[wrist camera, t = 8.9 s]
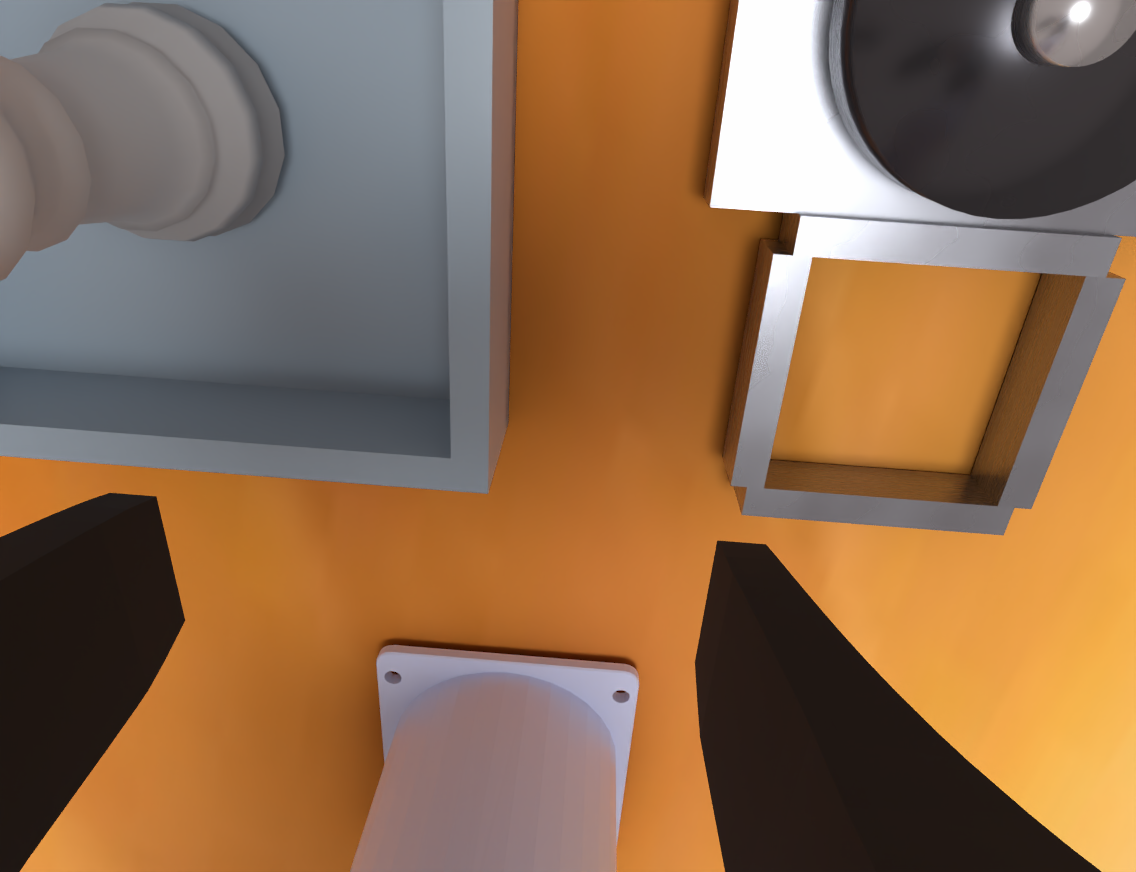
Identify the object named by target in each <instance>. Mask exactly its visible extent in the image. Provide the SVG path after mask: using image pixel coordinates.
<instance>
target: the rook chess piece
mask: <svg viewBox="0 0 1136 872" xmlns="http://www.w3.org/2000/svg"><path fill="white" fill-rule="evenodd" d="M284 156H285V154H284V145H283V137H282V129H281V120H280V112H279V108H278V106H277V104H276V102H275V100H274V98H273V96H272V94H271V92H270V89H269V87H268V85H267V83H266V81H265V79H264V77H263V75H262V73H261V71H260V69H259V67H258V65H257V63H256V62H255V61H254V60H253V59H252V58H251V57H250V56H249V55H248V54H247V53H246V52H245V51H244V50H243V49H242V48H241V47H240V46H239V45H238V44H237V42H236V41H235V40H234V39H233V38H232V37H231V36H230V35H229V34H228V33H227V32H226V31H225V30H224V29H223V28H222V27H221V26H219V25H217V24H215V23H213V22H211V21H209V20H207V19H205V18H203V17H201V16H199V15H197V14H195V13H193V12H191V11H189V10H187V9H185V8H183V7H181V6H179V5H177V4H161V3H142V2H131V3H129V4H117V3H104V4H102V5H100V6H98V7H96V8H94V9H92V10H90V11H88V12H86V13H84V14H82V15H80V16H77V17H75V18H73V19H71V20H69V21H67V22H65V23H63V24H61V25H59V26H58V27H57V29H56V30H55V32H54V33H53V35H52V36H51V38H50V39H49V41H47V42H45V43H44V45H43V46H42V48H41V49H40V51H39V52H38V53H37V54H33V55H28V56H24V57H19V58H14V59H10V60H9V59H7V58H5V57H3V56H1V55H0V281H1V280H4V279H6V278H7V277H8V275H9V274H10V273H11V271H12V270H13V268H14V267H15V266H16V264H17V263H18V262H19V260H20V259H21V258H22V256H23V255H24V253H25V252H26V251H35V252H38V251H41V250H43V249H46V248H48V247H51V246H53V245H56V244H58V243H60V242H63V241H65V240H67V239H68V238H69V237H70V235H71V234H72V233H73V231H74V230H75V229H76V227H77V226H78V225H80V224H92V223H103V222H107V223H109V224H111V225H113V226H116V227H118V228H120V229H124V230H127V231H129V232H131V233H133V234H136V235H138V236H140V237H142V238H148V239H160V240H176V241H192V242H194V241H197V240H199V239H202V238H205V237H207V236H217V235H220V234H222V233H225V232H227V231H230V230H233V229H235V228H238V227H240V226H243V225H245V224H248V223H250V222H251V221H252V220H253V218H254V217H255V216H256V215H257V214H258V213H259V212H260V210H261V209H262V208H263V207H264V206H265V205H266V203H267V202H268V201H269V200H270V199H271V198H272V197H273V195H274V193H275V189H276V186H277V182H278V178H279V175H280V171H281V167H282V164H283V160H284Z"/></svg>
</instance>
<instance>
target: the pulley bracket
mask: <svg viewBox="0 0 1136 872" xmlns="http://www.w3.org/2000/svg"><path fill="white" fill-rule="evenodd" d="M703 198H704V199H705V201H706V202H707V204H708V205H709V207H714V208H728V209H743V210H757V211H772V212H784V213H783V218H782V223H781V229H780V234H779V239H778V240H773V239H760V245H759V251H758V256H757V262H756V268H755V273H754V279H753V285H752V290H751V296H750V302H749V308H748V313H747V319H746V325H745V330H744V336H743V342H742V347H741V353H740V359H739V364H738V370H737V376H736V381H735V387H734V393H733V399H732V404H731V410H730V416H729V421H728V427H727V433H726V438H725V444H724V450H723V455H722V457H723V460H724V464H725V467H726V471H727V475H728V478H729V482H730V485H731V486H734V490H735V493H736V497H737V500H738V504H739V507H740V511H741V514H742V515H749V516H762V517H775V518H788V519H801V520H814V521H827V522H840V523H852V524H865V525H878V526H891V527H904V528H917V529H930V530H942V531H955V532H968V533H981V534H994V535H1004V533H1005V530H1006V528H1007V525H1008V523H1009V520H1010V518H1011V515H1012V512H1013V510H1014V508H1025V509H1031V508H1032V506H1033V504H1034V501H1035V499H1036V496H1037V494H1038V491H1039V489H1040V486H1041V484H1042V482H1043V479H1044V477H1045V474H1046V472H1047V469H1048V467H1049V465H1050V462H1051V460H1052V457H1053V455H1054V452H1055V450H1056V448H1057V445H1058V443H1059V440H1060V438H1061V435H1062V433H1063V430H1064V428H1065V426H1066V423H1067V421H1068V418H1069V416H1070V413H1071V411H1072V409H1073V406H1074V404H1075V401H1076V399H1077V396H1078V394H1079V392H1080V389H1081V387H1082V384H1083V382H1084V379H1085V377H1086V375H1087V372H1088V370H1089V367H1090V365H1091V362H1092V360H1093V357H1094V355H1095V353H1096V350H1097V348H1098V345H1099V343H1100V340H1101V338H1102V336H1103V333H1104V331H1105V328H1106V326H1107V323H1108V321H1109V319H1110V316H1111V314H1112V311H1113V309H1114V306H1115V304H1116V301H1117V299H1118V297H1119V294H1120V292H1121V289H1122V287H1123V284H1124V282H1125V280H1126V279H1125V278H1122V277H1120V276H1117V275H1115V274H1113V273H1110V272H1108V271H1109V269H1110V266H1111V264H1112V261H1113V259H1114V256H1115V254H1116V251H1117V249H1118V246H1119V244H1120V241H1121V239H1122V238H1120V237H1117V236H1114V235H1119V236H1134V237H1136V0H730V8H729V15H728V22H727V30H726V37H725V44H724V52H723V59H722V66H721V73H720V81H719V88H718V95H717V103H716V110H715V117H714V124H713V132H712V139H711V146H710V154H709V161H708V168H707V175H706V183H705V190H704V197H703ZM812 257H820V258H834V259H848V260H863V261H877V262H891V263H905V264H919V265H934V266H948V267H962V268H976V269H991V270H1005V271H1019V272H1033V273H1042V276H1041V279H1040V282H1039V284H1038V287H1037V290H1036V293H1035V296H1034V298H1033V301H1032V304H1031V307H1030V310H1029V313H1028V315H1027V318H1026V321H1025V324H1024V327H1023V329H1022V332H1021V335H1020V338H1019V341H1018V343H1017V346H1016V349H1015V352H1014V355H1013V357H1012V360H1011V363H1010V366H1009V369H1008V371H1007V374H1006V377H1005V380H1004V383H1003V385H1002V388H1001V391H1000V394H999V397H998V399H997V402H996V405H995V408H994V411H993V413H992V416H991V419H990V422H989V425H988V427H987V430H986V433H985V436H984V439H983V441H982V444H981V447H980V450H979V453H978V455H977V458H976V461H975V464H974V467H973V469H972V472H971V475H963V474H950V473H936V472H923V471H910V470H897V469H884V468H871V467H858V466H845V465H831V464H818V463H805V462H792V461H779V460H770V457H771V452H772V447H773V442H774V438H775V433H776V428H777V423H778V419H779V414H780V409H781V404H782V399H783V395H784V390H785V385H786V380H787V376H788V371H789V366H790V361H791V357H792V352H793V347H794V342H795V338H796V333H797V328H798V323H799V319H800V314H801V309H802V304H803V300H804V295H805V290H806V285H807V281H808V276H809V271H810V266H811V261H812Z"/></svg>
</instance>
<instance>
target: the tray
mask: <svg viewBox="0 0 1136 872" xmlns="http://www.w3.org/2000/svg"><path fill="white" fill-rule="evenodd" d="M131 2H142V3H161V4H177V5H179V6H181V7H183V8H185V9H187V10H189V11H191V12H193V13H195V14H197V15H199V16H201V17H203V18H205V19H207V20H209V21H211V22H213V23H215V24H217V25H219V26H221V27H222V28H223V29H224V30H225V31H226V32H227V33H228V34H229V35H230V36H231V37H232V38H233V39H234V40H235V41H236V42H237V44H238V45H239V46H240V47H241V48H242V49H243V50H244V51H245V52H246V53H247V54H248V55H249V56H250V57H251V58H252V59H253V60H254V61H255V62H256V63H257V65H258V67H259V69H260V71H261V73H262V75H263V77H264V79H265V81H266V83H267V85H268V87H269V89H270V92H271V94H272V96H273V98H274V100H275V102H276V104H277V106H278V108H279V112H280V120H281V129H282V137H283V145H284V154H285V156H284V160H283V164H282V167H281V171H280V175H279V178H278V182H277V186H276V189H275V193H274V195H273V197H272V198H271V199H270V200H269V201H268V202H267V203H266V205H265V206H264V207H263V208H262V209H261V210H260V212H259V213H258V214H257V215H256V216H255V217H254V218H253V220H252V221H251V222H250V223H248V224H245V225H243V226H240V227H238V228H235V229H233V230H230V231H227V232H225V233H222V234H220V235H217V236H207V237H205V238H202V239H199V240H197V241H194V242H192V241H176V240H160V239H148V238H142V237H140V236H138V235H136V234H133V233H131V232H129V231H127V230H124V229H120V228H118V227H116V226H113V225H111V224H109V223H107V222H103V223H92V224H80V225H78V226H77V227H76V229H75V230H74V231H73V233H72V234H71V235H70V237H69V238H68V239H67V240H65V241H63V242H60V243H58V244H56V245H53V246H51V247H48V248H46V249H43V250H41V251H38V252H35V251H26V252H25V253H24V255H23V256H22V258H21V259H20V260H19V262H18V263H17V264H16V266H15V267H14V268H13V270H12V271H11V273H10V274H9V275H8V277H7V278H6V279H4V280H1V281H0V456H9V457H22V458H35V459H48V460H60V461H73V462H86V463H99V464H112V465H125V466H138V467H151V468H163V469H176V470H189V471H202V472H215V473H228V474H241V475H254V476H266V477H279V478H292V479H305V480H318V481H331V482H344V483H357V484H369V485H382V486H395V487H408V488H421V489H434V490H447V491H460V492H472V493H485V494H488V493H489V489H490V486H491V482H492V479H493V475H494V472H495V468H496V465H497V461H498V458H499V454H500V451H501V447H502V444H503V440H504V437H505V433H506V430H507V426H508V422H509V379H510V336H511V293H512V250H513V207H514V164H515V121H516V77H517V34H518V0H0V55H1V56H3V57H5V58H7V59H9V60H10V59H14V58H19V57H24V56H28V55H33V54H37V53H38V52H39V51H40V49H41V48H42V46H43V45H44V43H45V42H47V41H49V39H50V38H51V36H52V35H53V33H54V32H55V30H56V29H57V27H58V26H59V25H61V24H63V23H65V22H67V21H69V20H71V19H73V18H75V17H77V16H80V15H82V14H84V13H86V12H88V11H90V10H92V9H94V8H96V7H98V6H100V5H102V4H104V3H117V4H129V3H131Z"/></svg>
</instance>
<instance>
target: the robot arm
mask: <svg viewBox="0 0 1136 872" xmlns="http://www.w3.org/2000/svg"><path fill="white" fill-rule="evenodd" d="M184 622H185V618H184V613H183V609H182V605H181V601H180V596H179V592H178V588H177V583H176V579H175V575H174V571H173V566H172V562H171V558H170V553H169V549H168V545H167V541H166V536H165V532H164V528H163V523H162V519H161V515H160V511H159V506H158V502H157V498H156V497H155V496H142V495H129V494H117V493H108V494H105V495H102V496H99V497H97V498H94V499H91V500H88V501H85V502H83V503H80V504H77V505H75V506H72V507H70V508H68V509H65V510H63V511H60V512H58V513H55V514H53V515H51V516H48V517H46V518H44V519H41V520H39V521H37V522H34V523H32V524H30V525H27V526H25V527H23V528H21V529H18V530H16V531H14V532H12V533H9V534H7V535H5V536H3V537H0V872H20V870H21V869H22V867H23V866H24V864H25V863H26V861H27V860H28V858H29V857H30V856H31V854H32V853H33V851H34V850H35V849H36V847H37V846H38V844H39V843H40V842H41V840H42V839H43V838H44V836H45V835H46V833H47V832H48V831H49V829H50V828H51V826H52V825H53V824H54V822H55V821H56V819H57V818H58V817H59V815H60V814H61V812H62V811H63V810H64V808H65V807H66V806H67V804H68V803H69V801H70V800H71V799H72V797H73V796H74V794H75V793H76V792H77V790H78V789H79V787H80V786H81V785H82V783H83V782H84V781H85V779H86V778H87V776H88V775H89V774H90V772H91V771H92V769H93V768H94V767H95V765H96V764H97V763H98V761H99V760H100V758H101V757H102V756H103V754H104V753H105V751H106V750H107V749H108V747H109V746H110V744H111V743H112V742H113V740H114V739H115V737H116V736H117V734H118V733H119V732H120V730H121V729H122V727H123V726H124V725H125V723H126V722H127V720H128V719H129V717H130V716H131V715H132V713H133V712H134V710H135V709H136V708H137V706H138V705H139V703H140V702H141V700H142V699H143V697H144V696H145V694H146V693H147V691H148V690H149V688H150V686H151V684H152V683H153V681H154V679H155V677H156V675H157V674H158V672H159V670H160V668H161V666H162V665H163V663H164V661H165V659H166V657H167V655H168V653H169V651H170V649H171V647H172V645H173V643H174V641H175V639H176V637H177V635H178V634H179V632H180V630H181V628H182V626H183V624H184ZM376 667H377V679H378V691H379V703H380V715H381V727H382V740H383V752H384V767H383V771H382V774H381V777H380V780H379V783H378V786H377V789H376V792H375V795H374V798H373V802H372V805H371V808H370V811H369V814H368V817H367V820H366V823H365V826H364V829H363V832H362V836H361V839H360V842H359V845H358V848H357V851H356V854H355V857H354V860H353V863H352V867H351V870H350V872H617V864H616V847H617V840H618V832H619V825H620V818H621V811H622V804H623V797H624V789H625V782H626V775H627V768H628V761H629V753H630V746H631V739H632V732H633V725H634V718H635V710H636V703H637V696H638V689H639V675H638V672H637V670H636V669H635V668H634V667H632V666H631V665H627V664H621V663H609V662H597V661H585V660H573V659H560V658H548V657H536V656H524V655H512V654H500V653H487V652H475V651H463V650H451V649H439V648H427V647H414V646H402V645H388V646H385V647H383V648H382V649H381V650H380V652H379V655H378V657H377V661H376ZM695 669H696V685H697V702H698V715H699V728H700V739H701V744H702V750H703V756H704V761H705V767H706V772H707V777H708V783H709V788H710V794H711V799H712V804H713V810H714V815H715V820H716V825H717V831H718V836H719V841H720V847H721V852H722V857H723V862H724V868H725V872H1101V871H1100V870H1099V869H1097V868H1096V867H1095V866H1093V865H1092V864H1091V863H1090V862H1088V861H1087V860H1086V859H1084V858H1083V857H1082V856H1080V855H1079V854H1078V853H1077V852H1075V851H1074V850H1073V849H1071V848H1070V847H1069V846H1068V845H1066V844H1065V843H1064V842H1063V841H1062V840H1060V839H1059V838H1058V837H1057V836H1055V835H1054V834H1053V833H1052V832H1050V831H1049V830H1048V829H1047V828H1046V827H1044V826H1043V825H1042V824H1041V823H1039V822H1038V821H1037V820H1036V819H1034V818H1033V817H1032V816H1031V815H1030V814H1028V813H1027V812H1026V811H1025V810H1024V809H1023V808H1022V807H1020V806H1019V805H1018V804H1017V803H1016V802H1015V801H1013V800H1012V799H1011V798H1010V797H1009V796H1008V795H1007V794H1005V793H1004V792H1003V791H1002V790H1001V789H1000V788H999V787H997V786H996V785H995V784H994V783H993V782H992V781H990V780H989V779H988V778H987V777H986V776H985V775H984V774H982V773H981V772H980V771H979V770H978V769H977V768H975V767H974V766H973V765H972V764H971V763H970V762H969V761H967V760H966V759H965V758H964V757H963V756H962V755H961V754H960V753H959V752H958V751H957V750H956V749H954V748H953V747H952V746H951V745H950V744H949V743H948V742H947V741H946V740H945V739H944V738H943V737H942V736H940V735H939V734H938V733H937V732H936V731H935V730H934V729H933V728H932V727H931V726H930V725H929V724H928V723H927V722H926V721H925V720H924V719H923V718H922V717H921V716H920V715H919V714H918V713H917V712H916V711H915V710H914V709H913V708H912V707H911V706H910V705H909V704H908V703H907V702H906V701H905V700H904V699H903V698H902V697H901V696H900V695H899V694H898V693H897V692H896V691H895V690H894V689H893V688H892V687H891V686H890V685H889V684H888V683H887V682H886V681H885V680H884V679H883V678H882V677H881V676H880V675H879V674H878V672H877V671H876V670H875V669H874V668H873V667H872V666H871V665H870V664H869V663H868V662H867V661H866V660H865V659H864V658H863V656H862V655H861V654H860V653H859V652H858V651H857V650H856V649H855V648H854V647H853V646H852V644H851V643H850V642H849V641H848V640H847V639H846V638H845V637H844V636H843V634H842V633H841V632H840V631H839V630H838V629H837V628H836V627H835V625H834V624H833V623H832V622H831V621H830V620H829V619H828V617H827V616H826V615H825V614H824V613H823V612H822V610H821V609H820V608H819V607H818V606H817V605H816V603H815V602H814V601H813V600H812V599H811V597H810V596H809V595H808V594H807V593H806V592H805V590H804V589H803V588H802V587H801V586H800V584H799V583H798V582H797V581H796V580H795V578H794V577H793V576H792V575H791V574H790V572H789V571H788V570H787V569H786V568H785V566H784V565H783V564H782V563H781V562H780V560H779V559H778V558H777V557H776V556H775V555H774V553H773V552H772V551H771V550H770V549H769V548H768V546H767V545H766V544H753V543H740V542H728V541H717V545H716V551H715V556H714V562H713V567H712V573H711V578H710V584H709V589H708V594H707V600H706V605H705V611H704V616H703V622H702V627H701V633H700V638H699V644H698V649H697V654H696V660H695ZM390 671H394V672H397V673H398V674H393V673H391V672H390ZM619 690H623V691H626V692H625V693H618V692H616V691H619Z"/></svg>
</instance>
